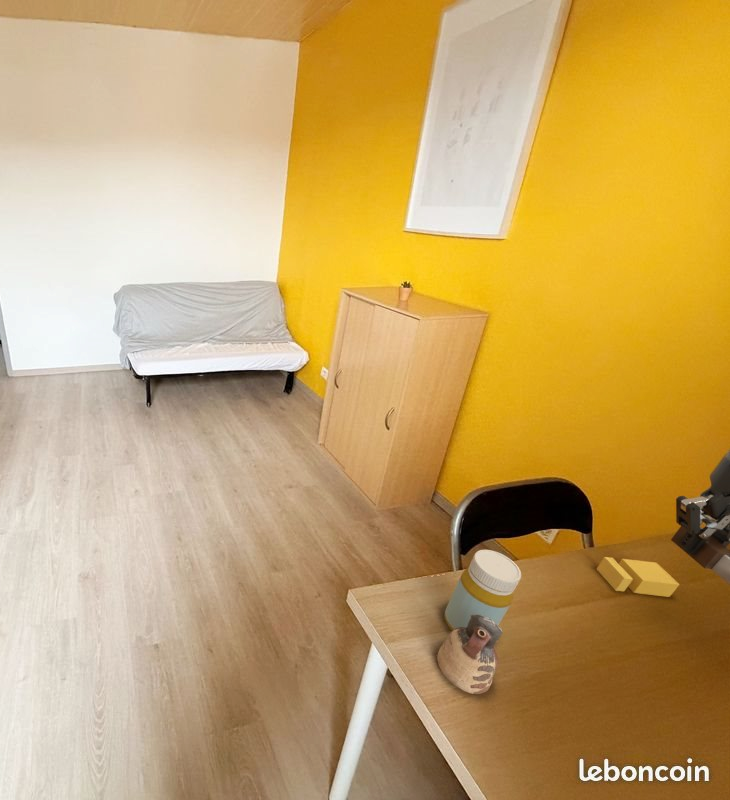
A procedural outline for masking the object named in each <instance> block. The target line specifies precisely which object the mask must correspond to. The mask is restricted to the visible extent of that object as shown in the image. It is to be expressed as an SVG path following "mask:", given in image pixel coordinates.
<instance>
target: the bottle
mask: <svg viewBox="0 0 730 800" xmlns="http://www.w3.org/2000/svg"><path fill="white" fill-rule="evenodd" d="M521 579H522V572H521V569H520V568H519V566H518V565H517V563H515V562H514V561H513V560H512V559H511V558H509V557H508V556H506V555H505V554H503V553H501V552H498V551H495V550H491V549H480V550H477V551H476V552H475V553H474V555H473V556H472V559H471V561H470V564H469V566H468V567H467V568H465V569H464V570H463V571H462V573H461V575H460V577H459V579H458V582H457V583H456V586H455V588H454V590H453V592H452V595H451V597H450V599H449V601H448V603H447V606H446V608H445V610H444V613H443V614H444V617H443V618H444V621H445V623H446V625H447V627H448V628H449V629H450V630H451V632H452V631H453V630H454V629H455V628H458V627H466V628H467V626H468V622H469V620H470V619H471V615H472V614H475V615H481V616H484V617H487V618H489V619H491V620H492V621H493V622H494V623H495V624H496V625H497V626H498V627H499V625H500V623H501V622H502V620H503V618H504V616H505V615H506V613H507V611H508V610H509V608H510V606H511V604H512V602H513V600H514V591H515V590H516V588H517V586H518V584H519V582H520V581H521Z"/></svg>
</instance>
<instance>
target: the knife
mask: <svg viewBox="0 0 730 800" xmlns="http://www.w3.org/2000/svg"><path fill="white" fill-rule="evenodd" d="M686 532H687V530H686V529H685V528H683V527H682V526H681V525H680V527H679V528H678V529H677V531H676V532H675V533H674V535H673V536H672V537H671V538H670V541H671V542H673V543H674V544H675V545H676V546H678V547H679V544H678V543H679V541H680V540H681V538H682V537H683V536H684V534H685V533H686ZM707 539H708V540H707V542H705V544H704V545H703V546H702V547H701V549H700V550H699V551H698V552H697V554H696V555H689V554H687V555H688V556H689V557H690V558H691V559H692V560H693V561H695V562H696V563H698V564H699V565H700V566H701V567H702V568H703V569H707V570H711V571H713V572H714V573H715V574H716V575H718V576H719V577H720V578H721V579H722V580H724V582H726V583H727V584H728V585H730V548H728V546H727V547H726V546H724V545H723V544H722V543H720V542H719V541H718V540H716V539H715V538H714V537H713V536H710V537H709V538H707Z"/></svg>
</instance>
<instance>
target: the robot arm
mask: <svg viewBox="0 0 730 800" xmlns="http://www.w3.org/2000/svg"><path fill="white" fill-rule="evenodd" d="M709 481H710V486H709V487H708V488H707V489H706V490H704V491H702V492H701V493H700V496H697V497H691V498H689V497H686V496H685V495H679V496H677V497H676V498H675V517H676V518H675V520H676V521H675V522H676V524H677V525H679V526H680V527H681V526H682V527H683V528H685V529H686V530H687V532H686V533H685V534H684V536H683V537H682V538H681V540H680V541H679V543H678V544H679V546H678V547H679V548H680V549H681V551H683V552H685V554H687V555H688V554H689V555H696V554H697V552H698V551H699V550H700V549H701V547H702V546H703V545H704V544H705V542H707V540H708V539H707V538H709V537H710V536H713V537H714V538H715V539H716V540H718V541H719V542H720V543H722V544H723V545H724V546H726V547H727V548H728V546H729V545H730V447H729V448H728V450H727V451H726V452H725V454H724V455H723V456H722V457H721V459H720V460H719V462H717V464H716V466H715V467H714V468H713V470H712V471H711V473H710V474H709ZM703 523H704V524H705V526H704V527H702V526H701V525H702V524H703ZM689 555H688V556H689Z"/></svg>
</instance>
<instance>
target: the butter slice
mask: <svg viewBox="0 0 730 800" xmlns="http://www.w3.org/2000/svg"><path fill="white" fill-rule="evenodd" d="M596 570H597V572H598V573H599V574H600V575H601V576H602V577H603V579H605V581H606V582H607V583H608V584H609V585H610V586H611V588H612V589H614V591H616V592H625V591H626V590H627V588H629V587H628V585H629V584H630V583H631V581H632V580H633V578H632V577H631V576H630V575H629V574H628V573H627V572H626V571H625V570H624V569H623V568H622V567H621V566H620V565H619V562H617V561H616V559H614V557H610V556H604V557H603V558H602V559H601V561H600V562H599V565H598V566H597V567H596Z"/></svg>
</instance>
